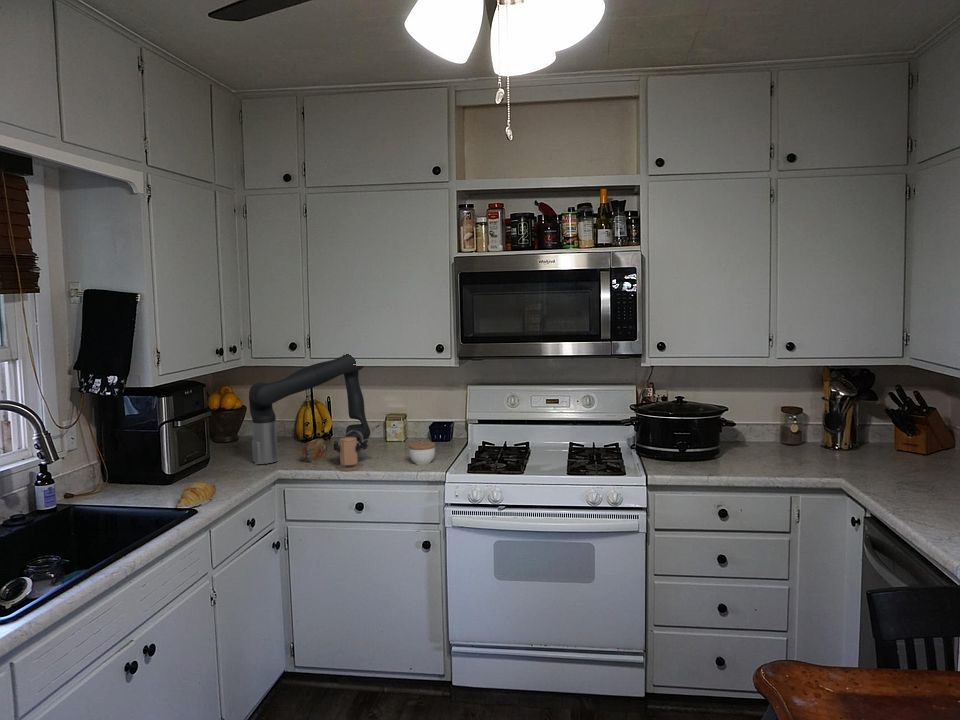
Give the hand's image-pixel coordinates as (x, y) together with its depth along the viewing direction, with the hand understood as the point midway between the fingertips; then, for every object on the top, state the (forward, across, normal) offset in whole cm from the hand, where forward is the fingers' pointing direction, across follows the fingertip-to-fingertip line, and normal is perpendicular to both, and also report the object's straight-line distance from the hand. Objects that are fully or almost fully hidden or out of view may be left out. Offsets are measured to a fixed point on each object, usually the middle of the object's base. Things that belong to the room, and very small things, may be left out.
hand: (347, 449), depth 269 cm
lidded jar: (-6, +29, +8) cm, 30 cm away
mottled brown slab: (-18, -16, +8) cm, 26 cm away
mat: (-17, 0, +8) cm, 19 cm away
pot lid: (-2, 0, +8) cm, 8 cm away
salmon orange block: (-2, 0, +6) cm, 6 cm away
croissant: (+36, -46, +8) cm, 59 cm away
